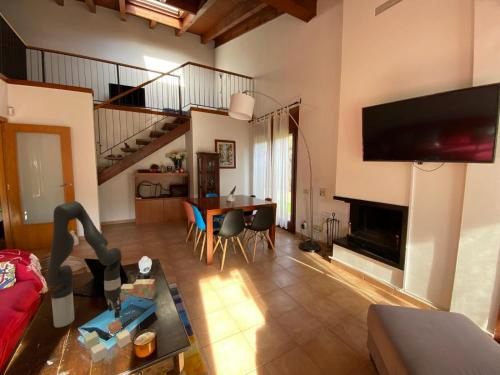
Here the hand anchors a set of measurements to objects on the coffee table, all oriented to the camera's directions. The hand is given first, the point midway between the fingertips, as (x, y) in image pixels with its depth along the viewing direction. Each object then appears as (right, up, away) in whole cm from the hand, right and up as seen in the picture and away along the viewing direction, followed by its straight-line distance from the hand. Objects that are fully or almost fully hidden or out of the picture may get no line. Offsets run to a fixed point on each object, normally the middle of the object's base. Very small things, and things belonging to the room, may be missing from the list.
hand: (114, 313), depth 120 cm
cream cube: (+8, -12, -6) cm, 16 cm away
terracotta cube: (0, -11, +1) cm, 11 cm away
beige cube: (+1, -13, -14) cm, 19 cm away
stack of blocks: (-3, -8, +32) cm, 33 cm away
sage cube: (-7, -12, -7) cm, 16 cm away
